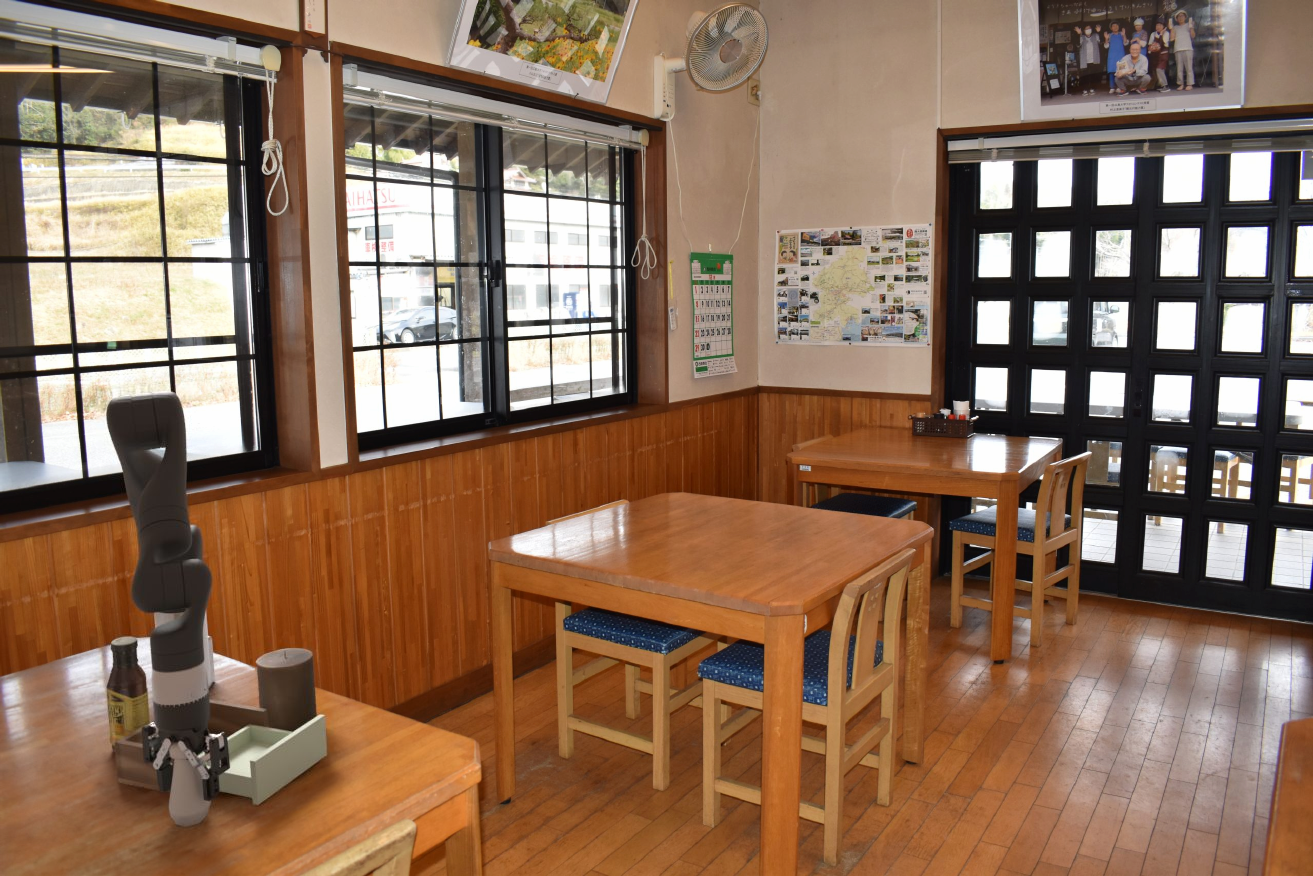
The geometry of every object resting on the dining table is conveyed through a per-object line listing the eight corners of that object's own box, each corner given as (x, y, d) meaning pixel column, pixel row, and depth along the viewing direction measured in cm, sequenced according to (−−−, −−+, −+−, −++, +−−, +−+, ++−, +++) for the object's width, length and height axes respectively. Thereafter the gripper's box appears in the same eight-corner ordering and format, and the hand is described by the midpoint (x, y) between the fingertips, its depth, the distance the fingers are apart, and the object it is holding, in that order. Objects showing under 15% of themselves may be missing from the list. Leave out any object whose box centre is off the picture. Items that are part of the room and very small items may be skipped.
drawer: (254, 741, 172) (252, 702, 171) (327, 754, 167) (324, 715, 166) (180, 789, 156) (177, 746, 155) (258, 805, 151) (255, 761, 150)
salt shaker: (203, 805, 153) (197, 727, 151) (218, 819, 149) (212, 739, 147) (164, 819, 149) (157, 739, 147) (177, 834, 145) (170, 752, 143)
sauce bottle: (105, 748, 171) (95, 639, 168) (143, 736, 176) (134, 630, 172) (119, 760, 167) (109, 649, 163) (158, 747, 171) (148, 639, 168)
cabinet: (200, 734, 176) (198, 697, 175) (269, 746, 172) (267, 709, 171) (118, 782, 160) (114, 742, 158) (192, 798, 155) (188, 756, 154)
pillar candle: (322, 732, 177) (318, 653, 175) (265, 745, 172) (260, 664, 170) (310, 713, 185) (306, 637, 183) (255, 725, 180) (250, 647, 178)
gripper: (238, 688, 147) (245, 789, 149) (162, 676, 151) (170, 774, 154) (200, 709, 140) (208, 815, 142) (122, 695, 144) (131, 798, 147)
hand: (188, 794), depth 148 cm, fingers open, 8 cm apart
